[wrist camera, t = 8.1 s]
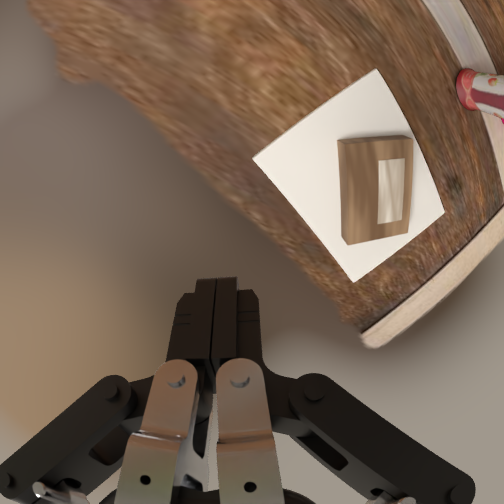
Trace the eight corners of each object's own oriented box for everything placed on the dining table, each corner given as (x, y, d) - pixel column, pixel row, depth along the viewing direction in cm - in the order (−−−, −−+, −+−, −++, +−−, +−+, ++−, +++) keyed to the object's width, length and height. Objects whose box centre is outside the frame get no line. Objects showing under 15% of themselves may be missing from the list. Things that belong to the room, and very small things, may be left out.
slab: (347, 246, 39) (408, 233, 38) (345, 144, 31) (413, 139, 31) (341, 236, 41) (399, 224, 41) (336, 139, 33) (402, 134, 33)
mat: (374, 68, 29) (376, 68, 28) (442, 210, 41) (444, 212, 40) (252, 157, 34) (252, 159, 34) (352, 280, 46) (353, 282, 46)
